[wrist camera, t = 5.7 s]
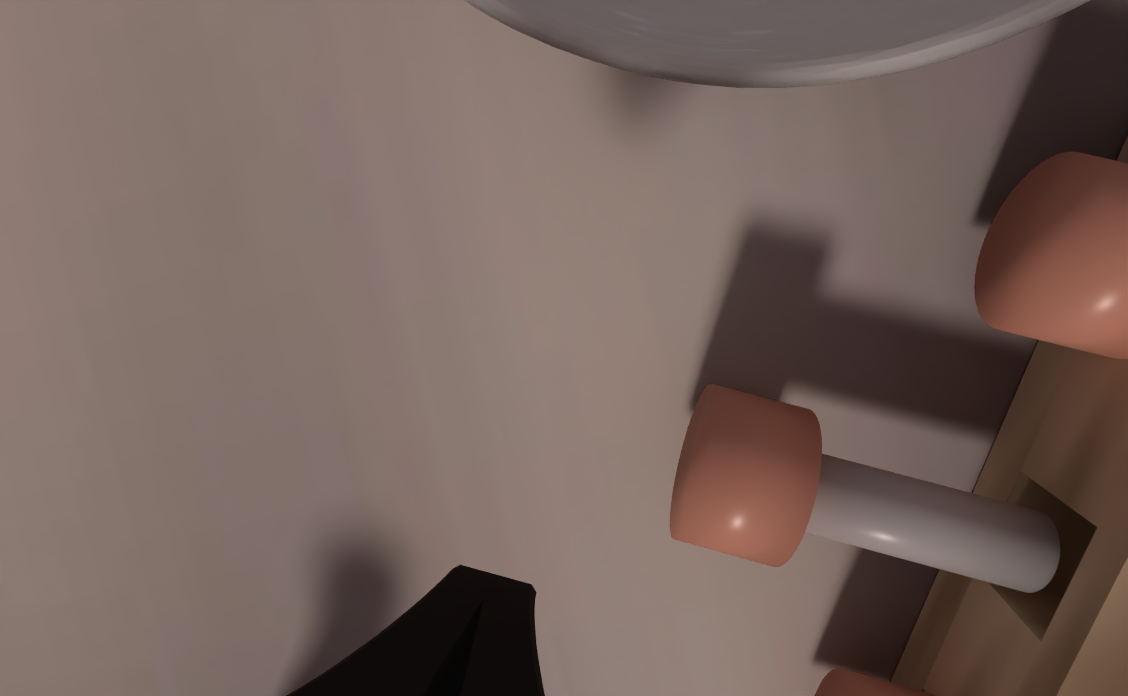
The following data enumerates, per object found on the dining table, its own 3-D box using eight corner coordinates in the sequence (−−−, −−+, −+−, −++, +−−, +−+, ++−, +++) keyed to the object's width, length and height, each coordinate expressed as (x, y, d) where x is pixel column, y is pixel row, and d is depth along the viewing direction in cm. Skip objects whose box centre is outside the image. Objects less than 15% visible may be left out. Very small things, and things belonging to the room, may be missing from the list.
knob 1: (1017, 446, 17) (1124, 518, 14) (961, 574, 18) (1045, 674, 15) (706, 366, 18) (723, 412, 14) (667, 494, 19) (673, 571, 15)
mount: (1350, 150, 16) (1707, 127, 11) (995, 834, 21) (1112, 1047, 16) (1141, 103, 16) (1384, 58, 11) (843, 789, 22) (908, 984, 16)
